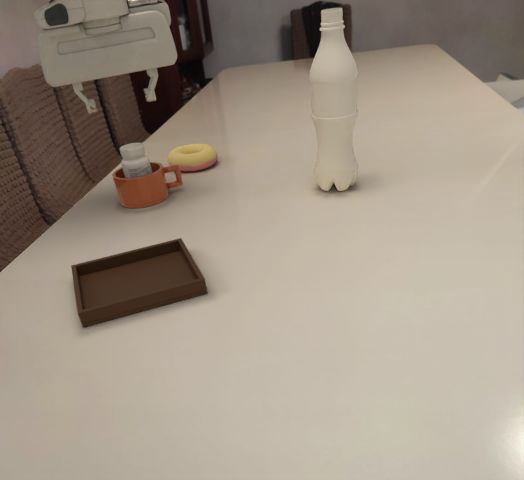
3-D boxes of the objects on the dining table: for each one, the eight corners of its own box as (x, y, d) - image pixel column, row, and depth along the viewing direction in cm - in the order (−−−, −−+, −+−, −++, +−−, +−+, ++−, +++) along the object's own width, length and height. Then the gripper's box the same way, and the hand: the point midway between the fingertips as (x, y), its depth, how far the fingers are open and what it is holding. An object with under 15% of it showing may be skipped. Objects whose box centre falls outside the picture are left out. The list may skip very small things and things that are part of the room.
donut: (200, 185, 102) (227, 162, 107) (197, 163, 98) (225, 140, 103) (160, 173, 106) (188, 151, 111) (155, 151, 102) (184, 130, 107)
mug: (123, 212, 90) (115, 183, 87) (117, 196, 96) (109, 168, 93) (189, 196, 92) (183, 168, 89) (178, 182, 99) (173, 155, 96)
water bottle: (310, 194, 87) (300, 15, 72) (319, 178, 92) (312, 8, 77) (354, 194, 85) (353, 10, 70) (361, 178, 90) (361, 3, 75)
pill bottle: (130, 192, 95) (117, 144, 90) (156, 188, 96) (145, 139, 91) (130, 202, 91) (116, 152, 86) (157, 197, 92) (145, 147, 87)
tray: (83, 327, 62) (77, 313, 61) (75, 278, 72) (71, 265, 71) (207, 293, 65) (204, 279, 64) (183, 250, 75) (181, 237, 74)
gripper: (162, -8, 81) (181, 90, 89) (24, 14, 77) (57, 115, 85) (170, -7, 76) (189, 97, 84) (23, 16, 72) (59, 123, 80)
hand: (122, 106), depth 85 cm, fingers open, 8 cm apart
